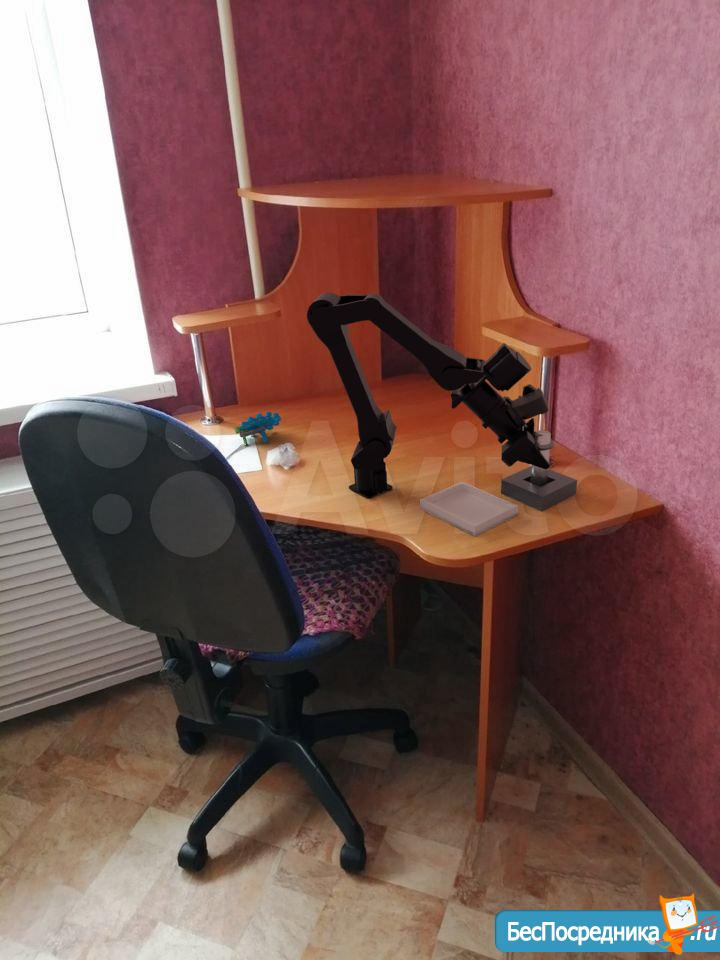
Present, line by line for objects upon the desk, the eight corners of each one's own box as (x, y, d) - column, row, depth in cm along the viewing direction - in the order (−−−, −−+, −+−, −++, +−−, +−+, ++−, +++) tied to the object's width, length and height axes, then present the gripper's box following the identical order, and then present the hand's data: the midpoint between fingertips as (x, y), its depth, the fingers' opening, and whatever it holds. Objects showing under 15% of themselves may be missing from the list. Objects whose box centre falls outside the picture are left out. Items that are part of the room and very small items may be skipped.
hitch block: (500, 493, 145) (501, 479, 144) (534, 477, 151) (535, 464, 149) (541, 511, 138) (542, 496, 137) (576, 494, 143) (577, 480, 142)
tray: (420, 508, 141) (420, 499, 140) (462, 490, 147) (462, 481, 146) (474, 536, 131) (474, 526, 130) (517, 515, 137) (517, 505, 136)
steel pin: (521, 493, 145) (524, 433, 139) (536, 486, 147) (540, 427, 142) (539, 501, 142) (543, 440, 136) (554, 493, 144) (559, 433, 138)
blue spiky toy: (280, 422, 181) (278, 405, 171) (287, 444, 179) (286, 428, 169) (235, 435, 179) (231, 418, 169) (242, 457, 177) (238, 441, 168)
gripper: (524, 394, 127) (586, 456, 129) (521, 361, 143) (577, 417, 146) (475, 437, 131) (537, 495, 134) (479, 400, 148) (533, 453, 151)
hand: (547, 462), depth 141 cm, fingers closed on steel pin, 4 cm apart
